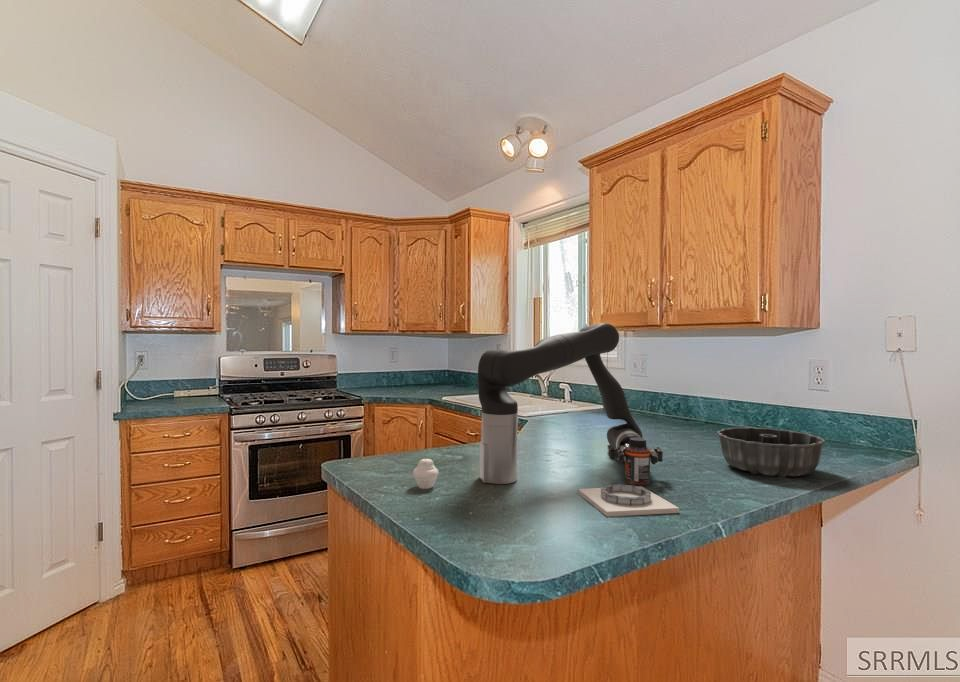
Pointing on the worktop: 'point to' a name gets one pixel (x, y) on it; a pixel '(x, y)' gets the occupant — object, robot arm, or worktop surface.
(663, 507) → the board
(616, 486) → the collar
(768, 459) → the bundt pan
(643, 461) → the supplement bottle
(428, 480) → the white lidded jar
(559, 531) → the worktop surface
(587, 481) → the worktop surface
